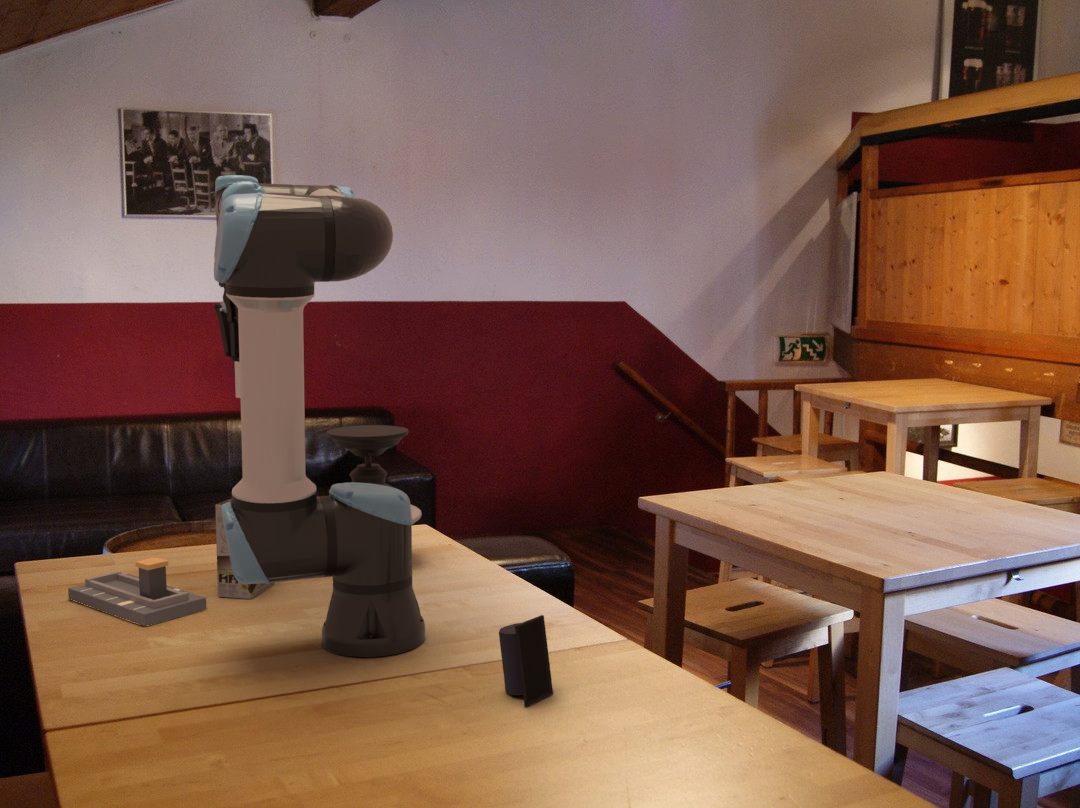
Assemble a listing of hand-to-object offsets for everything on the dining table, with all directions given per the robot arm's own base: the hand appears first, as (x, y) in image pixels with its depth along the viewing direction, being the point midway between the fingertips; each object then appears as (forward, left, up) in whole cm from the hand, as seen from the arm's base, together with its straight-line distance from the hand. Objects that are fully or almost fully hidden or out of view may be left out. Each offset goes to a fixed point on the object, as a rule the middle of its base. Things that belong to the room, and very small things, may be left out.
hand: (244, 397), depth 188 cm
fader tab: (-6, +24, -30) cm, 39 cm away
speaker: (-75, +14, -33) cm, 83 cm away
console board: (-1, +24, -32) cm, 40 cm away
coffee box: (-9, +8, -33) cm, 35 cm away
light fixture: (-13, -17, -33) cm, 39 cm away
